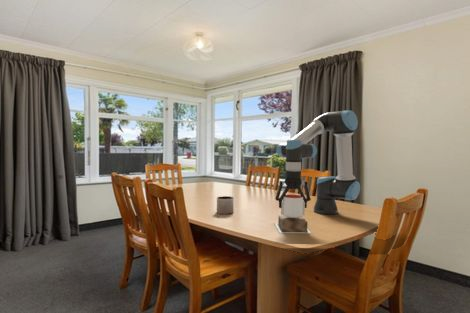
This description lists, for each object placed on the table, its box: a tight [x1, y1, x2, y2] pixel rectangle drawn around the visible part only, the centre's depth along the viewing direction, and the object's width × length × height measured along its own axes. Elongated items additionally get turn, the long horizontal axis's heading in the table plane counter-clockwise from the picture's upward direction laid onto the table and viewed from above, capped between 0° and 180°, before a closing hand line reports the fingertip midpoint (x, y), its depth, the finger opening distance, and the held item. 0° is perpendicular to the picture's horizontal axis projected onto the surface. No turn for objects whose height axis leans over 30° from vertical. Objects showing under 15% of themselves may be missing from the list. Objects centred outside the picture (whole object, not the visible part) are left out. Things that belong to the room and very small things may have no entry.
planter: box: [216, 195, 235, 215], centre depth 176 cm, size 11×11×10 cm
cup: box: [282, 194, 304, 218], centre depth 138 cm, size 10×10×10 cm
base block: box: [277, 215, 308, 232], centre depth 138 cm, size 12×12×5 cm
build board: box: [273, 223, 313, 235], centre depth 138 cm, size 16×16×2 cm
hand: (292, 214), depth 138 cm, fingers closed on cup, 10 cm apart
